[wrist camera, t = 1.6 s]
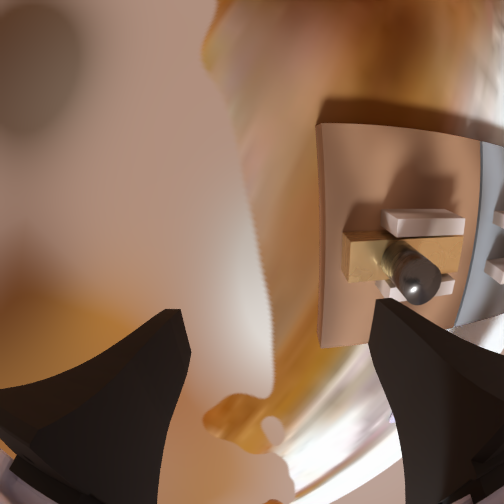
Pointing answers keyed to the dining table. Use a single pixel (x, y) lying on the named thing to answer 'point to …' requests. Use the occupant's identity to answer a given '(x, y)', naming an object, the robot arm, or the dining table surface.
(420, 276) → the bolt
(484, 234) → the two-tone tabbed panel
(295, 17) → the dining table surface
